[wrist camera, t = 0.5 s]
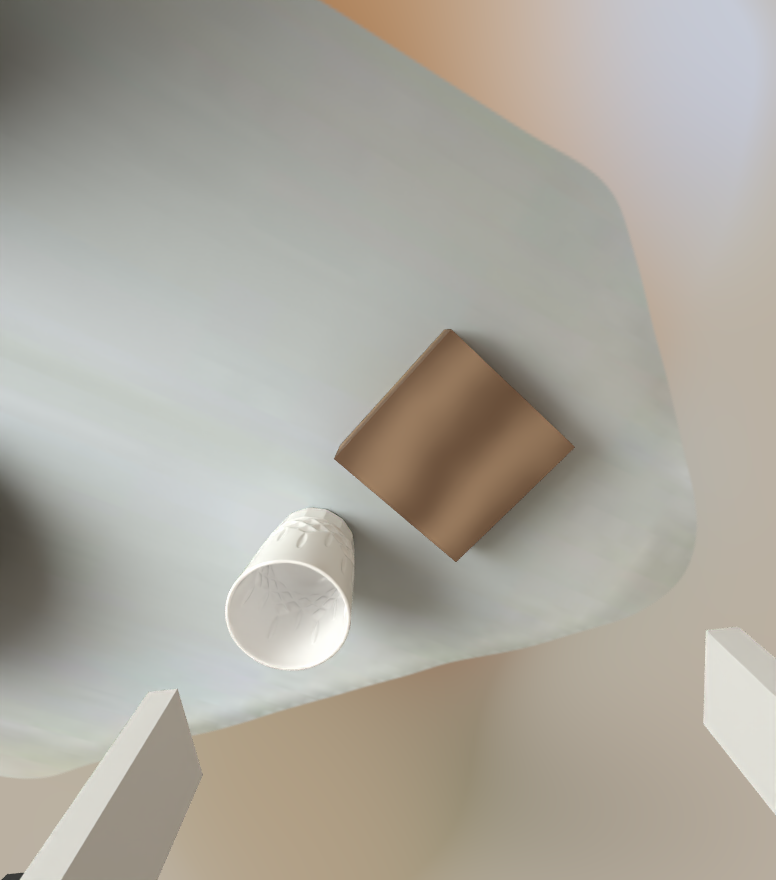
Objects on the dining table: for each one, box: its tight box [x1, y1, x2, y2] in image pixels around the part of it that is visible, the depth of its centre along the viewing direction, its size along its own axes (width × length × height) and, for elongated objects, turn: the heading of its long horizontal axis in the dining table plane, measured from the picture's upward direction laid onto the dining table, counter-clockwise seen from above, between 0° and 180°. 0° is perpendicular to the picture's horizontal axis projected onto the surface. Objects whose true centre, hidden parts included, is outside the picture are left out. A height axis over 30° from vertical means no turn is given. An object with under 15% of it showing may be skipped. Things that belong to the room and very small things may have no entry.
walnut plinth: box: [334, 329, 575, 562], centre depth 34 cm, size 12×12×4 cm
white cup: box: [225, 507, 355, 670], centre depth 33 cm, size 8×8×10 cm
